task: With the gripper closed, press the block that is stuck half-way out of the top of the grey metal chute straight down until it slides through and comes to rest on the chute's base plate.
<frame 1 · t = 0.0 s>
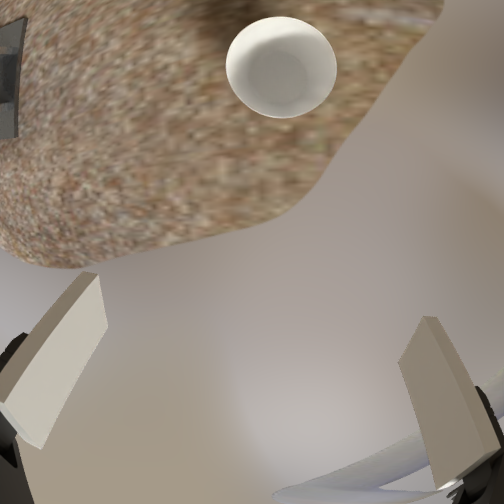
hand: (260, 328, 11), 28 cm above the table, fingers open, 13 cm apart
cup: (278, 78, 31), on the table
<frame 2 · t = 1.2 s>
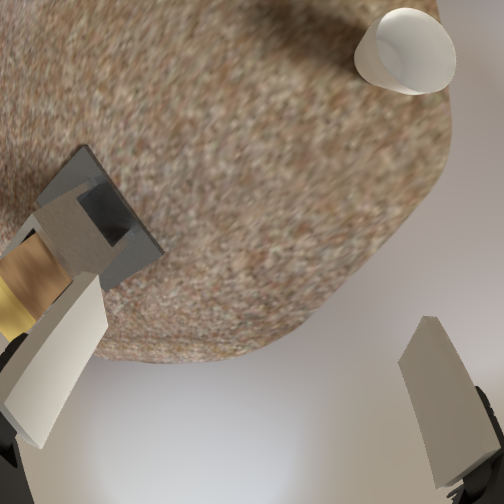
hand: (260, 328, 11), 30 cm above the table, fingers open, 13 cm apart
cup: (377, 62, 31), on the table
block: (34, 275, 29), point 16 cm above the table, slide at 0.0 cm
chute: (95, 222, 43), on the table
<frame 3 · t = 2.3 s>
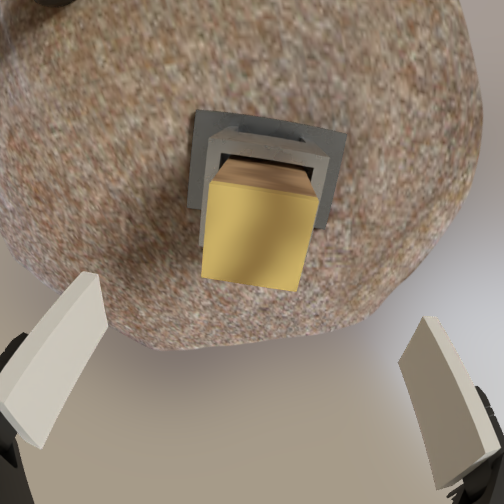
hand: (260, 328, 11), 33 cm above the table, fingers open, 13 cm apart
block: (259, 206, 27), point 16 cm above the table, slide at 0.0 cm
chute: (264, 168, 41), on the table
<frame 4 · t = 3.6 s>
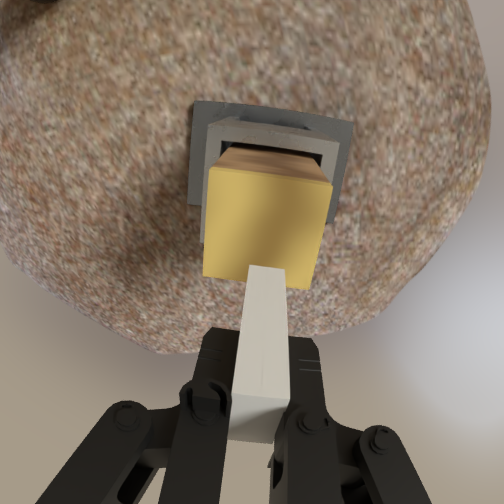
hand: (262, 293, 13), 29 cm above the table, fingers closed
block: (265, 198, 25), point 16 cm above the table, slide at 0.0 cm
chute: (267, 160, 39), on the table
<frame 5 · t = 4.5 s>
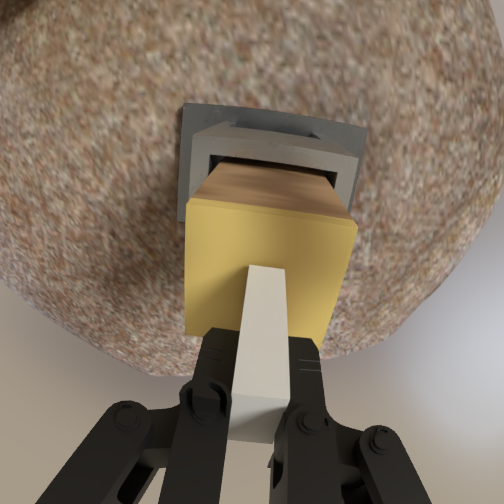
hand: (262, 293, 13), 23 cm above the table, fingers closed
block: (265, 226, 20), point 16 cm above the table, slide at 0.1 cm, touching gripper
chute: (268, 172, 34), on the table
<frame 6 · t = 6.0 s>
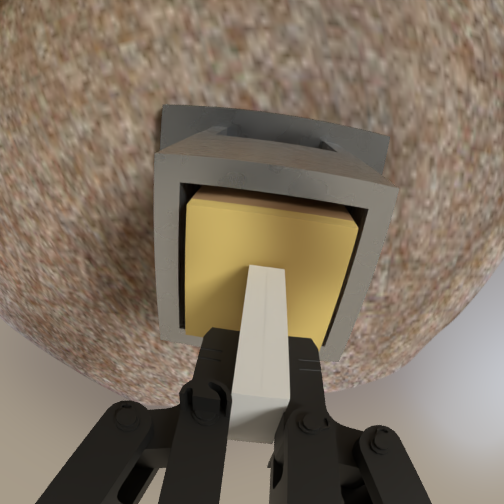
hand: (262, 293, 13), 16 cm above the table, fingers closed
block: (265, 227, 20), point 9 cm above the table, slide at 7.0 cm, touching gripper
chute: (267, 189, 28), on the table
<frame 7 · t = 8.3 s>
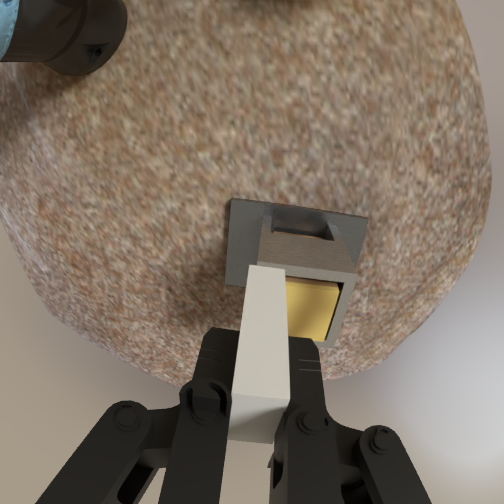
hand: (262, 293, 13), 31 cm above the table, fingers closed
block: (297, 281, 39), point 9 cm above the table, slide at 7.0 cm
chute: (293, 250, 47), on the table
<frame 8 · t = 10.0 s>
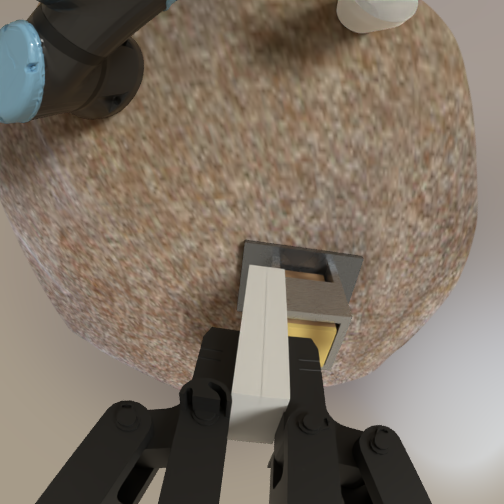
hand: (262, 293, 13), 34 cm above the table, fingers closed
cup: (357, 14, 33), on the table
block: (301, 315, 46), point 9 cm above the table, slide at 7.0 cm
chute: (297, 283, 54), on the table
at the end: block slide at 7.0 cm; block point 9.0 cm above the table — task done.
